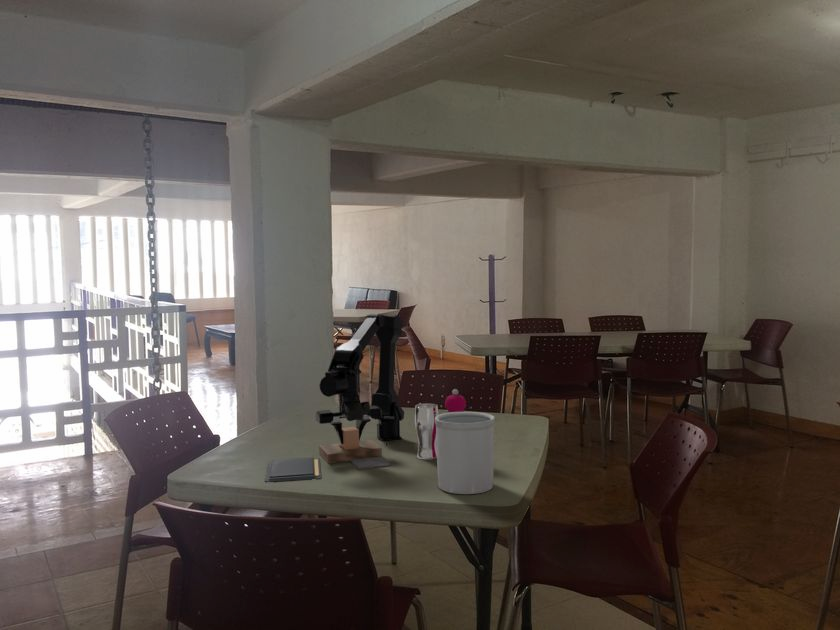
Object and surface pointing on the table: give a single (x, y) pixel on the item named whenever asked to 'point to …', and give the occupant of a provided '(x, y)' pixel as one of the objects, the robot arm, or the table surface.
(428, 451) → the beer glass
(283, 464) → the dark blue flat slab
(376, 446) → the pocket board
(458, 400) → the pepper mill
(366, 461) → the pad
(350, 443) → the block
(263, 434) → the table surface
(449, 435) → the utensil holder
